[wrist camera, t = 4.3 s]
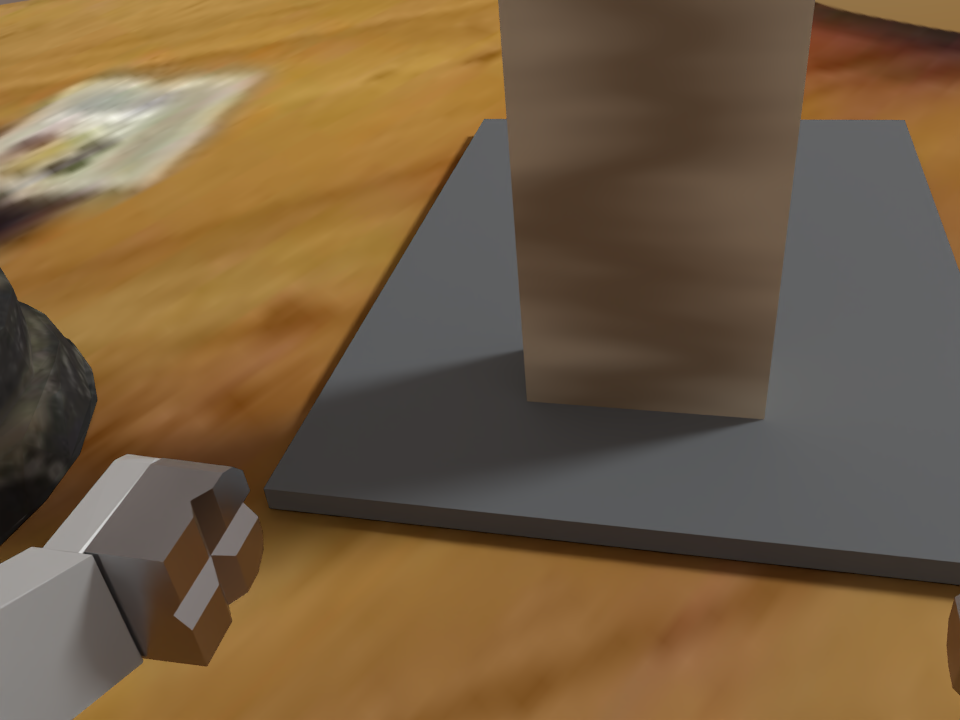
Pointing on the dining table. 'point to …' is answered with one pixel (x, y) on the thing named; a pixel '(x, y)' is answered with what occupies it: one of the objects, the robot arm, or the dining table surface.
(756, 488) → the mat
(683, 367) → the wooden block
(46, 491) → the lantern
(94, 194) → the dining table surface
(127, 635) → the robot arm
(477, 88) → the dining table surface
